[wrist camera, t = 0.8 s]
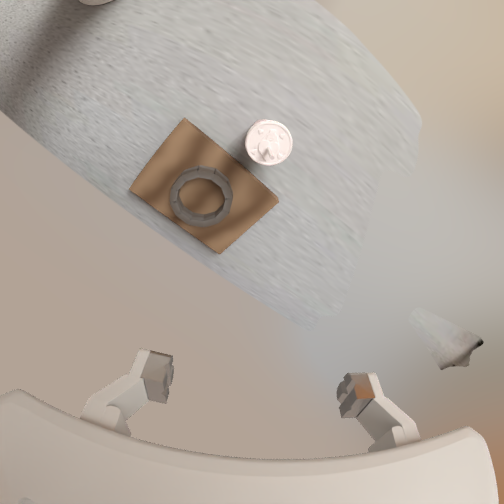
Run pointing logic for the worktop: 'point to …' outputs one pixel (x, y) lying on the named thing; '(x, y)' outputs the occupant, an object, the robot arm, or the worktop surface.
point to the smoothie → (268, 142)
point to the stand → (202, 188)
